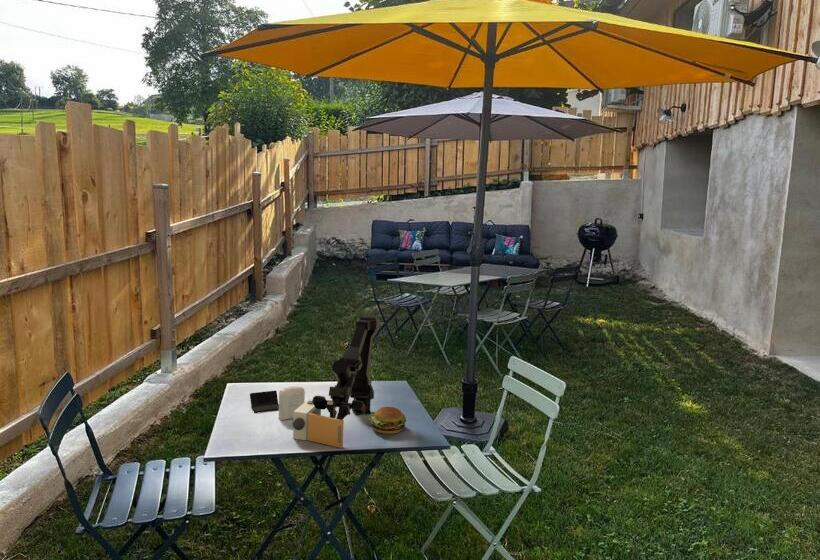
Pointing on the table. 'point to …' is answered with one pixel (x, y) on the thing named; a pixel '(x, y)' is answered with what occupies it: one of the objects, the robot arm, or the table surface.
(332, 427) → the side door
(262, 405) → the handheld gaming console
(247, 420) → the table surface
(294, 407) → the cream rounded slab
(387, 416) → the food
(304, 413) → the action camera
